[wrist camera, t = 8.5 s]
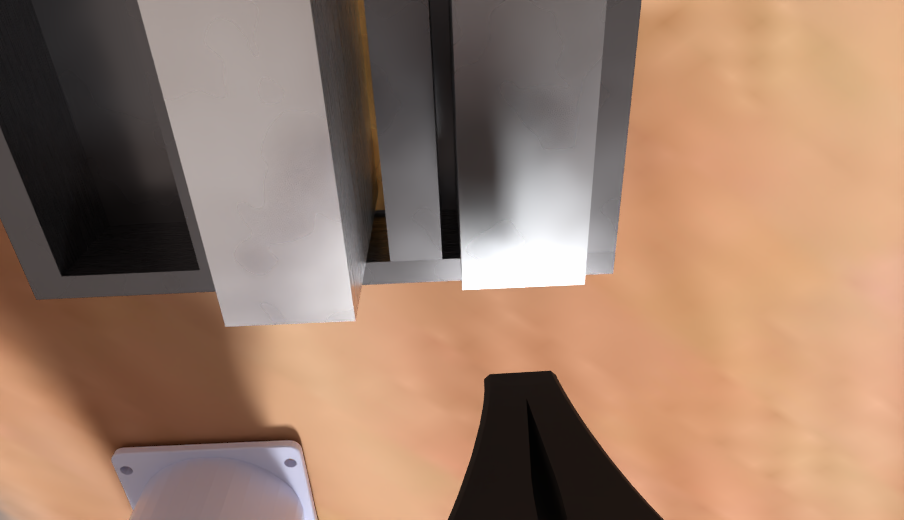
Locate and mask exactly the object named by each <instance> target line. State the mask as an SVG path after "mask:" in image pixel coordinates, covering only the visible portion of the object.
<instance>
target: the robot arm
mask: <svg viewBox="0 0 904 520" xmlns="http://www.w3.org/2000/svg"><path fill="white" fill-rule="evenodd" d="M484 388H485V392H484V403H483V410H482V415H481V421H480V426H479V430H478V433H477V437H476V441H475V445H474V449H473V453H472V456H471V459H470V462H469V465H468V468H467V471H466V474H465V477H464V480H463V483H462V486H461V488H460V491H459V494H458V496H457V499H456V501H455V504H454V506H453V509H452V511H451V514H450V516H449V518H448V520H664V519H663V518H662V517H661V516H660V515H659V514H658V513H657V512H656V511H655V510H654V509H653V508H652V507H651V506H650V505H649V504H648V503H647V502H646V500H645V499H644V498H643V497H642V496H641V495H640V494H639V493H638V491H637V490H636V489H635V488H634V487H633V486H632V485H631V483H630V482H629V481H628V480H627V479H626V477H625V476H624V475H623V474H622V473H621V471H620V470H619V469H618V468H617V466H616V465H615V464H614V463H613V461H612V460H611V459H610V458H609V456H608V455H607V454H606V452H605V451H604V450H603V448H602V447H601V446H600V444H599V443H598V441H597V440H596V439H595V437H594V436H593V435H592V433H591V432H590V430H589V429H588V428H587V426H586V425H585V423H584V422H583V420H582V419H581V417H580V416H579V414H578V413H577V411H576V410H575V408H574V406H573V405H572V403H571V402H570V400H569V398H568V397H567V395H566V393H565V392H564V390H563V388H562V386H561V384H560V382H559V381H558V379H557V377H556V375H555V374H554V373H553V372H551V371H539V372H521V373H504V374H490V375H488V376H487V377H486V378H485V379H484ZM289 459H293V460H289ZM111 460H112V464H113V466H114V468H115V471H116V473H117V475H118V477H119V480H120V482H121V484H122V486H123V489H124V491H125V493H126V496H127V498H128V500H129V502H130V505H131V507H132V509H133V512H132V515H131V517H130V519H129V520H318V519H317V515H316V510H315V506H314V501H313V497H312V492H311V488H310V483H309V478H308V474H307V469H306V465H305V460H304V456H303V451H302V448H301V446H300V444H298V443H297V442H295V441H292V440H281V441H259V442H237V443H215V444H193V445H171V446H149V447H127V448H119V449H117V450H116V451H115V453H114V454H113V456H112V458H111Z"/></svg>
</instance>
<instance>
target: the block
mask: <svg viewBox="0 0 904 520" xmlns="http://www.w3.org/2000/svg"><path fill="white" fill-rule="evenodd" d="M137 1H138V5H139V9H140V12H141V16H142V20H143V23H144V27H145V31H146V35H147V38H148V42H149V46H150V49H151V53H152V57H153V60H154V64H155V68H156V72H157V75H158V79H159V83H160V86H161V90H162V94H163V97H164V101H165V105H166V109H167V112H168V116H169V120H170V123H171V127H172V131H173V135H174V138H175V142H176V146H177V149H178V153H179V157H180V160H181V164H182V168H183V172H184V175H185V179H186V183H187V186H188V190H189V194H190V198H191V201H192V205H193V209H194V212H195V216H196V220H197V223H198V227H199V231H200V235H201V238H202V242H203V246H204V249H205V253H206V257H207V260H208V264H209V268H210V272H211V275H212V279H213V283H214V286H215V290H216V294H217V298H218V301H219V305H220V309H221V312H222V316H223V320H224V323H225V327H232V326H254V325H276V324H298V323H320V322H342V321H355V320H356V315H357V309H358V304H359V298H360V292H361V287H362V281H363V276H364V270H365V265H366V259H367V253H368V248H369V242H370V237H371V231H372V225H373V220H374V214H375V209H376V203H377V197H378V187H377V177H376V168H375V159H374V149H373V140H372V130H371V121H370V112H369V102H368V93H367V83H366V74H365V65H364V55H363V46H362V36H361V27H360V18H359V8H358V0H137Z"/></svg>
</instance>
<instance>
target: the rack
mask: <svg viewBox="0 0 904 520" xmlns="http://www.w3.org/2000/svg"><path fill="white" fill-rule="evenodd" d="M358 8H359V18H360V27H361V36H362V46H363V55H364V65H365V74H366V83H367V93H368V102H369V112H370V121H371V130H372V140H373V149H374V159H375V168H376V177H377V187H378V197H377V203H376V209H375V214H374V220H373V225H372V231H371V237H370V242H369V248H368V253H367V259H366V265H365V270H364V276H363V281H362V285H370V284H392V283H414V282H436V281H458V280H462V290H472V289H494V288H516V287H538V286H560V285H582V284H585V275H590V274H612V273H613V269H614V260H615V250H616V240H617V231H618V221H619V211H620V202H621V192H622V183H623V173H624V163H625V154H626V144H627V135H628V125H629V115H630V106H631V96H632V87H633V77H634V67H635V58H636V48H637V38H638V29H639V19H640V10H641V0H358ZM0 219H1V221H2V223H3V225H4V228H5V230H6V232H7V234H8V237H9V239H10V241H11V243H12V246H13V248H14V250H15V253H16V255H17V257H18V259H19V262H20V264H21V266H22V268H23V271H24V273H25V275H26V277H27V280H28V282H29V284H30V286H31V289H32V291H33V293H34V295H35V298H36V300H40V299H62V298H84V297H106V296H128V295H150V294H172V293H194V292H216V290H215V286H214V283H213V279H212V275H211V272H210V268H209V264H208V260H207V257H206V253H205V249H204V246H203V242H202V238H201V235H200V231H199V227H198V223H197V220H196V216H195V212H194V209H193V205H192V201H191V198H190V194H189V190H188V186H187V183H186V179H185V175H184V172H183V168H182V164H181V160H180V157H179V153H178V149H177V146H176V142H175V138H174V135H173V131H172V127H171V123H170V120H169V116H168V112H167V109H166V105H165V101H164V97H163V94H162V90H161V86H160V83H159V79H158V75H157V72H156V68H155V64H154V60H153V57H152V53H151V49H150V46H149V42H148V38H147V35H146V31H145V27H144V23H143V20H142V16H141V12H140V9H139V5H138V1H137V0H0Z"/></svg>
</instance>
